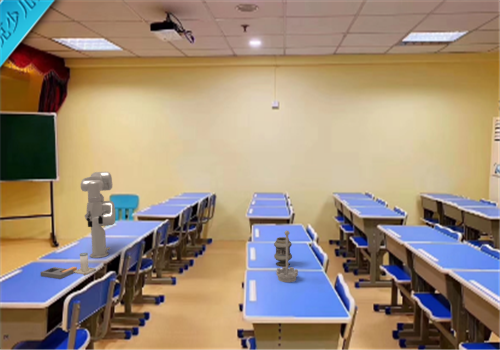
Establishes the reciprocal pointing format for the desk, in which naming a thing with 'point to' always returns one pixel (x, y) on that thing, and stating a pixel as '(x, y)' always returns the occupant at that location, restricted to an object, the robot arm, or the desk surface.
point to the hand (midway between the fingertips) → (95, 225)
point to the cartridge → (84, 262)
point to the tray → (85, 272)
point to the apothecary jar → (282, 251)
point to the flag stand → (286, 273)
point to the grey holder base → (56, 273)
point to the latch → (70, 269)
